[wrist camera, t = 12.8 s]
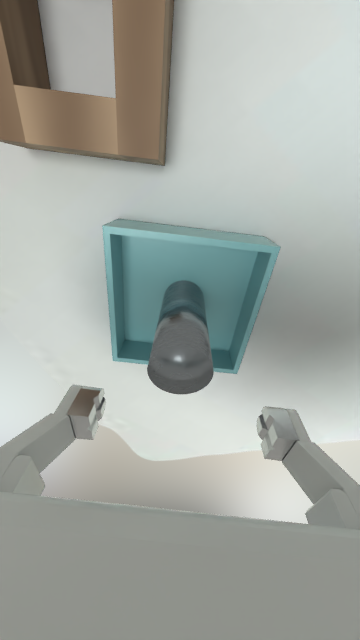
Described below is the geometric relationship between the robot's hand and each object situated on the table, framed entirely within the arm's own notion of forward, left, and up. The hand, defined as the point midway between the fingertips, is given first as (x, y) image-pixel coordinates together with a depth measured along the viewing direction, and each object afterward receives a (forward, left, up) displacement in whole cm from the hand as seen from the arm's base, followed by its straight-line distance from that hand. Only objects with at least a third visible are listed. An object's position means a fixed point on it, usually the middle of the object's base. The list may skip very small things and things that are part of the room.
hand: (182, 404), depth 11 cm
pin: (0, 0, -12) cm, 12 cm away
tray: (0, 0, -13) cm, 13 cm away
